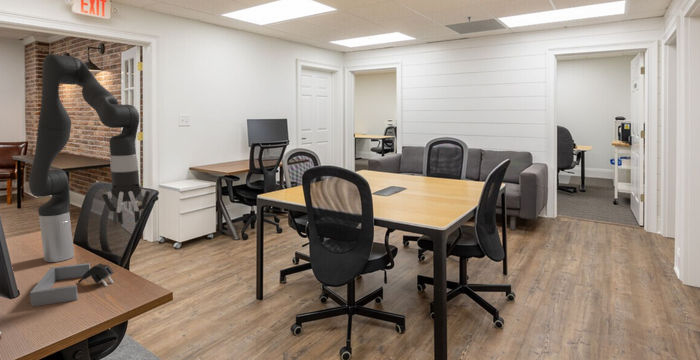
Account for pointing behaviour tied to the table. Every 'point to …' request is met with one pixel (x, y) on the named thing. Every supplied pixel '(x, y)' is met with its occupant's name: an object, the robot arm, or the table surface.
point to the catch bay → (61, 294)
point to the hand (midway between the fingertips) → (129, 222)
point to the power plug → (99, 274)
